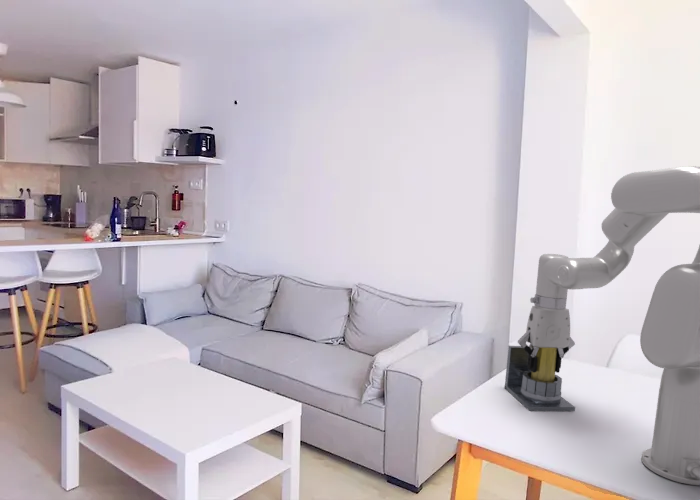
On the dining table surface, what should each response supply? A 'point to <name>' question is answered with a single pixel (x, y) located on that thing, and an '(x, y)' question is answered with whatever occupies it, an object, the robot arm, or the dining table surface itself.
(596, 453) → the dining table surface
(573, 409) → the cup bracket
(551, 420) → the dining table surface
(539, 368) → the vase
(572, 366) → the dining table surface
